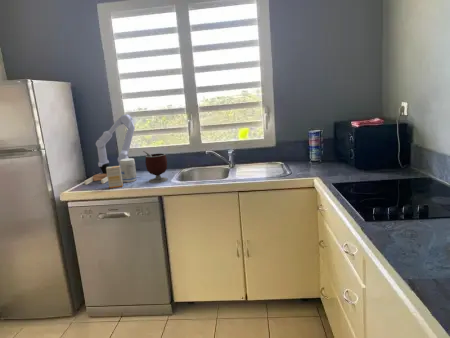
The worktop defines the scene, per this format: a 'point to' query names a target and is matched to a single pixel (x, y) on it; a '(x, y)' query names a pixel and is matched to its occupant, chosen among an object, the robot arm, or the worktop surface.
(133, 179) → the supplement tub
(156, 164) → the mate gourd
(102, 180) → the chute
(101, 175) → the block
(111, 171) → the supplement box
